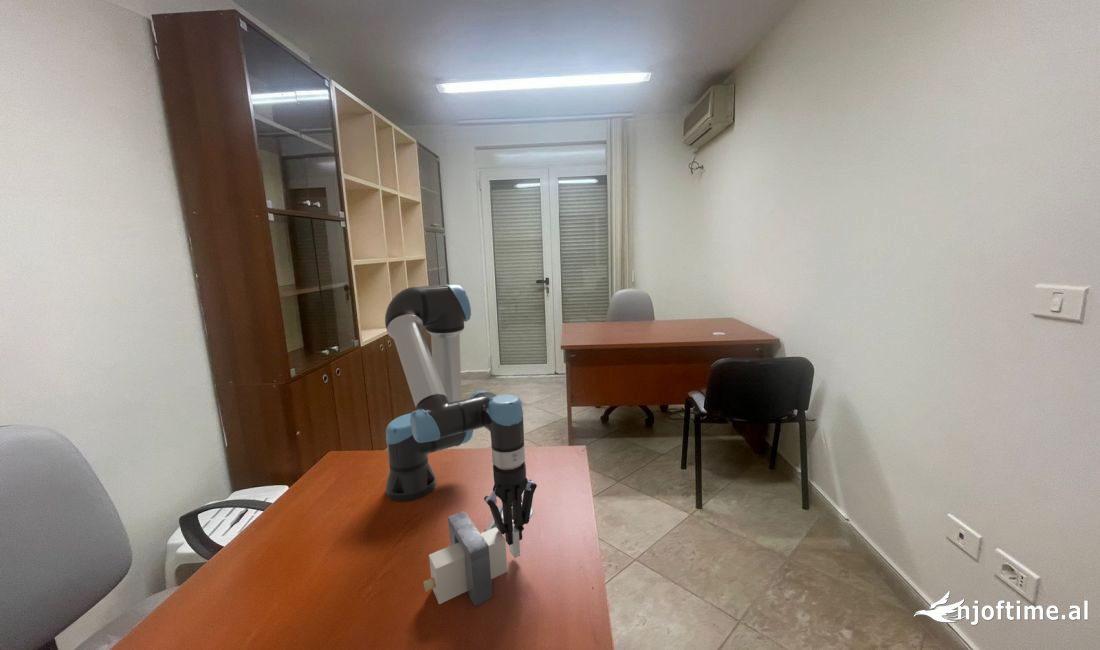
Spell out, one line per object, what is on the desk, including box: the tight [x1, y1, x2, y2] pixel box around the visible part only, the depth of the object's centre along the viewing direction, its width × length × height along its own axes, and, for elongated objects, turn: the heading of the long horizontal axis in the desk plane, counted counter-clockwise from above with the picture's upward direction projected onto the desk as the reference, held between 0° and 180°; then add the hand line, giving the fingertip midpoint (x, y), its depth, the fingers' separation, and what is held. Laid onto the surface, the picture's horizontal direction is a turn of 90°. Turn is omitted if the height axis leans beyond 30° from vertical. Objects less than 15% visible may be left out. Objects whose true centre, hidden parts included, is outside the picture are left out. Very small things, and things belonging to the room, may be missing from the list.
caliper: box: [483, 505, 503, 532], centre depth 109 cm, size 20×1×6 cm, turn 175°
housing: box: [447, 510, 493, 607], centre depth 91 cm, size 14×4×12 cm, turn 32°
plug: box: [423, 526, 508, 605], centre depth 91 cm, size 5×18×8 cm, turn 122°
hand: (514, 553), depth 98 cm, fingers closed
